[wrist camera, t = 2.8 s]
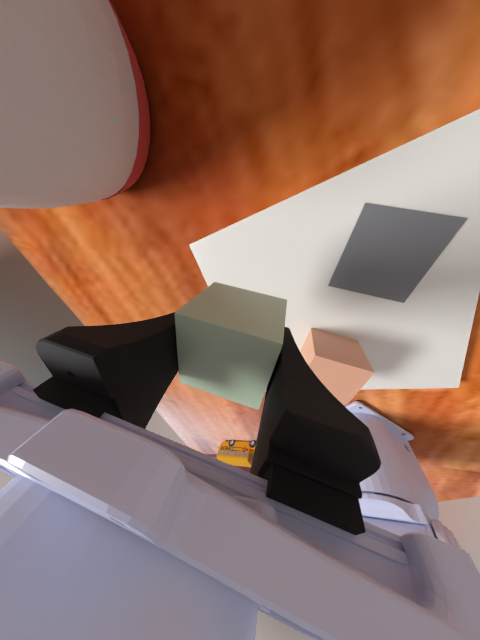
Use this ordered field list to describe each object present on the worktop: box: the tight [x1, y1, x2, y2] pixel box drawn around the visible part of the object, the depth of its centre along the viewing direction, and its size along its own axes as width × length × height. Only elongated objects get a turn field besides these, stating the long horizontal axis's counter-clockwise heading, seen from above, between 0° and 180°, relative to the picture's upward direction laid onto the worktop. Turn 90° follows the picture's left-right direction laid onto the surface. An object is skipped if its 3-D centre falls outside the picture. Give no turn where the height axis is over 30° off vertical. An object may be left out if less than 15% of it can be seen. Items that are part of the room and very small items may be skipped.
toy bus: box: [217, 440, 256, 467], centre depth 36 cm, size 3×10×4 cm, turn 117°
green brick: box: [175, 282, 287, 410], centre depth 10 cm, size 5×5×4 cm
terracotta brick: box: [300, 328, 375, 405], centre depth 17 cm, size 5×5×4 cm
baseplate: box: [189, 109, 480, 390], centre depth 18 cm, size 22×22×1 cm
